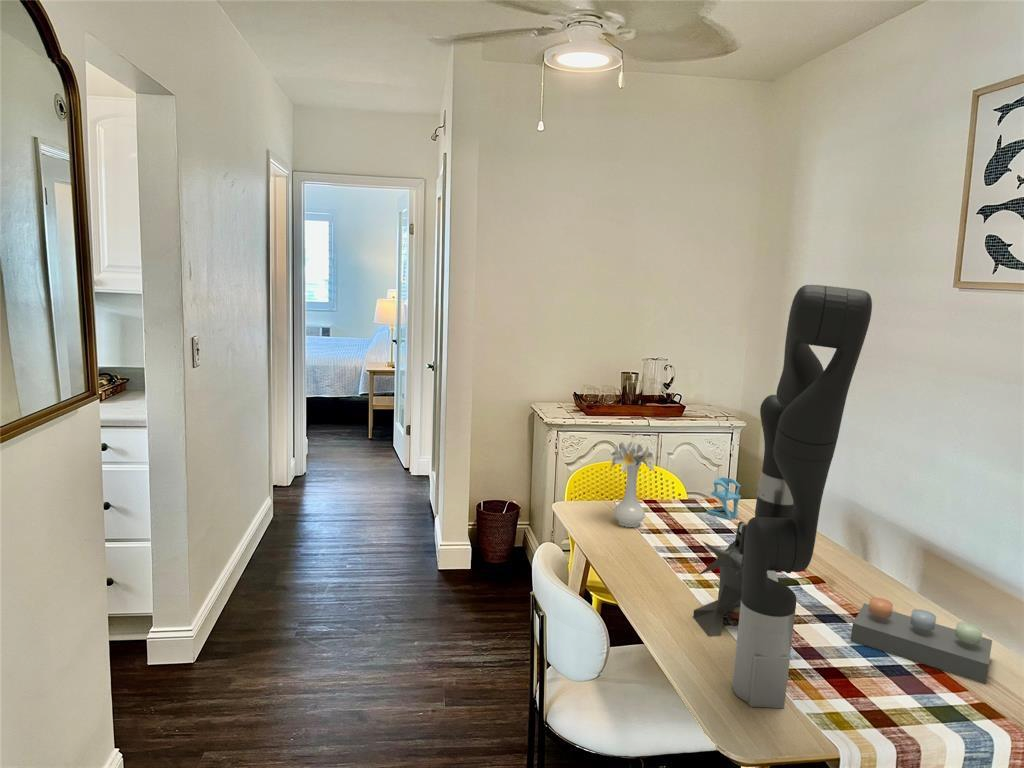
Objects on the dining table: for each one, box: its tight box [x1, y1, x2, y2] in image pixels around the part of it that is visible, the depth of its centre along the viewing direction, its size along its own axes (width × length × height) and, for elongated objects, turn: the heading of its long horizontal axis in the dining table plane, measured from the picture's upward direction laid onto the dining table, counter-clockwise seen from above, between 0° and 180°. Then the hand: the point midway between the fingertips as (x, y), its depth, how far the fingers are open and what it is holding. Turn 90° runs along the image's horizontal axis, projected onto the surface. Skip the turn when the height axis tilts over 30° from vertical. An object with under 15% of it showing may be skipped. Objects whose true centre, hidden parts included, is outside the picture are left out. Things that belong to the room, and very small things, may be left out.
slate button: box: [910, 608, 937, 631], centre depth 146 cm, size 4×4×2 cm
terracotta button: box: [868, 597, 894, 618], centre depth 151 cm, size 4×4×2 cm
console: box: [850, 603, 993, 684], centre depth 147 cm, size 24×12×4 cm, turn 53°
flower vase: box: [609, 441, 655, 528], centre depth 212 cm, size 13×18×25 cm
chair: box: [706, 476, 742, 521], centre depth 224 cm, size 8×8×12 cm
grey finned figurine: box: [692, 540, 768, 637], centre depth 155 cm, size 14×15×18 cm
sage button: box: [955, 621, 984, 644], centre depth 141 cm, size 4×4×2 cm
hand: (766, 571), depth 141 cm, fingers open, 8 cm apart
